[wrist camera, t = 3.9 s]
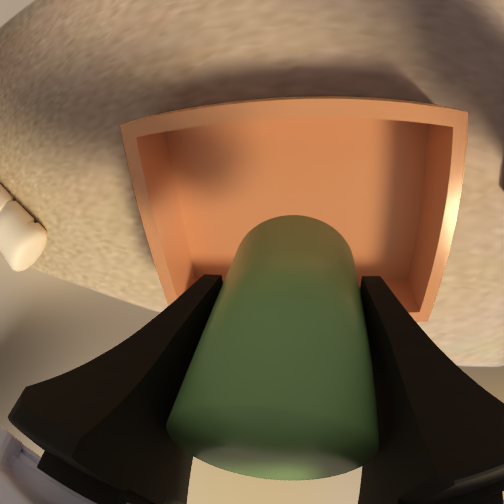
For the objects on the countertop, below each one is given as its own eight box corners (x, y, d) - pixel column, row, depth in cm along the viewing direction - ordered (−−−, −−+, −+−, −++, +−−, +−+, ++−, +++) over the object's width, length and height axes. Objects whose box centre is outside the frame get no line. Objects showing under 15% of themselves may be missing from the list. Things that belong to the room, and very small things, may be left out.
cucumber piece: (357, 213, 9) (407, 404, 4) (349, 315, 12) (357, 480, 6) (226, 217, 10) (132, 386, 4) (243, 314, 13) (197, 468, 7)
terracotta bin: (434, 103, 12) (468, 112, 9) (412, 281, 19) (427, 321, 15) (156, 113, 16) (119, 124, 12) (192, 279, 22) (172, 316, 18)
